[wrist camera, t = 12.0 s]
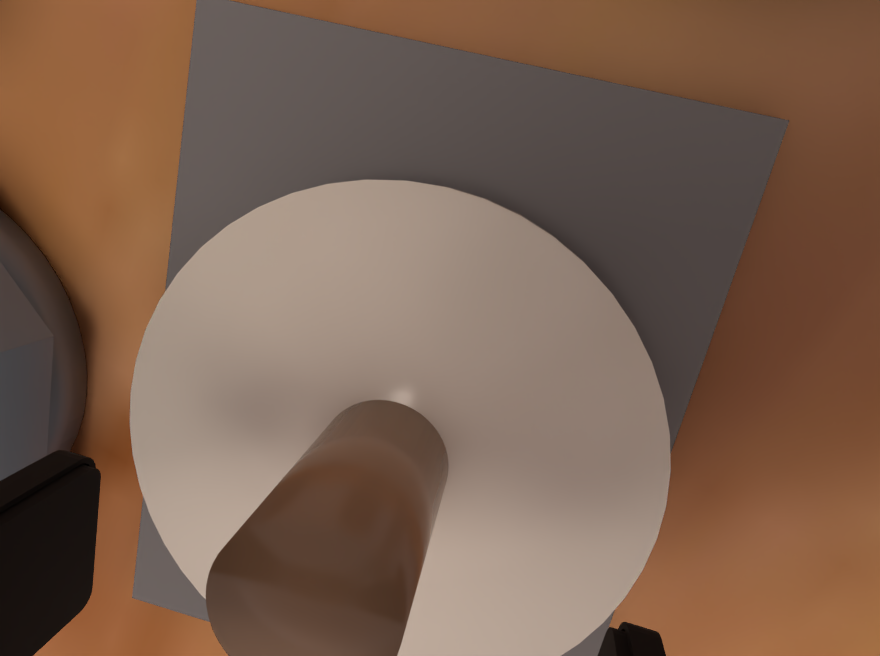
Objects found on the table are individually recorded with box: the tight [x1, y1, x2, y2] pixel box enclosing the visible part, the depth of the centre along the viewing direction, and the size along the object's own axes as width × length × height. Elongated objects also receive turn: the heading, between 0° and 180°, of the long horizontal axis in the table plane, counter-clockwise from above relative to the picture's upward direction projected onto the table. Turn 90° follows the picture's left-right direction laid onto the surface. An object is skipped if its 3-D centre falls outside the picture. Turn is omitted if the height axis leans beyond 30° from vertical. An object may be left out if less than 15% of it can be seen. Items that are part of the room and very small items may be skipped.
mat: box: [132, 0, 789, 656], centre depth 18 cm, size 16×20×1 cm
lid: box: [130, 179, 671, 656], centre depth 14 cm, size 15×15×8 cm
